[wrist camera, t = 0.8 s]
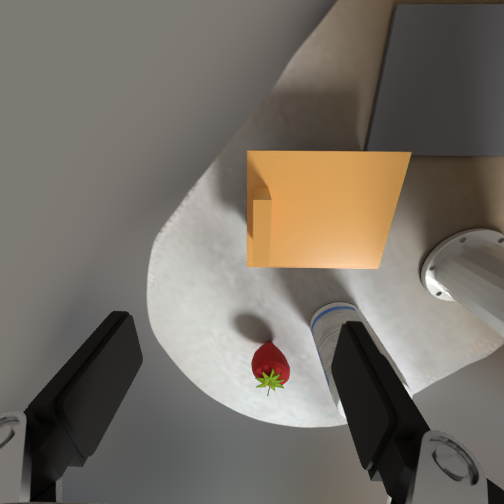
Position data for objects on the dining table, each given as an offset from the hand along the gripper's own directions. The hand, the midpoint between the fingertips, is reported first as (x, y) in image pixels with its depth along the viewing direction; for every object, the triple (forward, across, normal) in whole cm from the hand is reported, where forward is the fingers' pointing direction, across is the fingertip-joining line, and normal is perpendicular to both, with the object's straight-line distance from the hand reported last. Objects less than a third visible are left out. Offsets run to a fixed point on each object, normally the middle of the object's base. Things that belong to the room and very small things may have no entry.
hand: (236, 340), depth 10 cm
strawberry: (+25, -4, +27) cm, 37 cm away
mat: (+25, -23, -15) cm, 37 cm away
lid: (+18, -8, -1) cm, 19 cm away
